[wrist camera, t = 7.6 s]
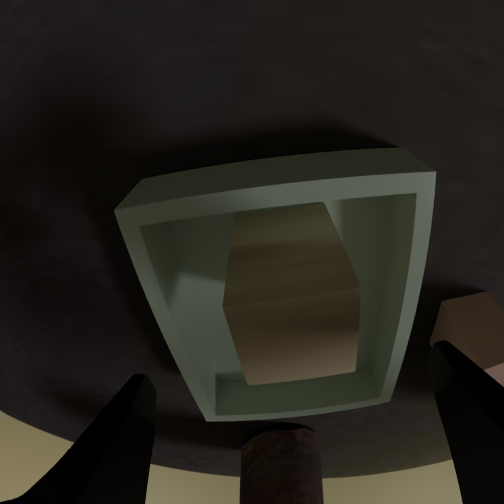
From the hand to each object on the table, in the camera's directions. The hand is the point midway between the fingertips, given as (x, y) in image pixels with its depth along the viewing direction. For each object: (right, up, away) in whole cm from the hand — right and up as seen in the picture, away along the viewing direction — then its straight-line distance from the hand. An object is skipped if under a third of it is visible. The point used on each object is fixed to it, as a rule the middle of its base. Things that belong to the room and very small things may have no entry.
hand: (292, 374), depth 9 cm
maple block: (0, +4, +6) cm, 7 cm away
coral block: (+13, -1, +10) cm, 17 cm away
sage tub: (+1, +1, +9) cm, 9 cm away
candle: (+1, -14, +19) cm, 23 cm away
